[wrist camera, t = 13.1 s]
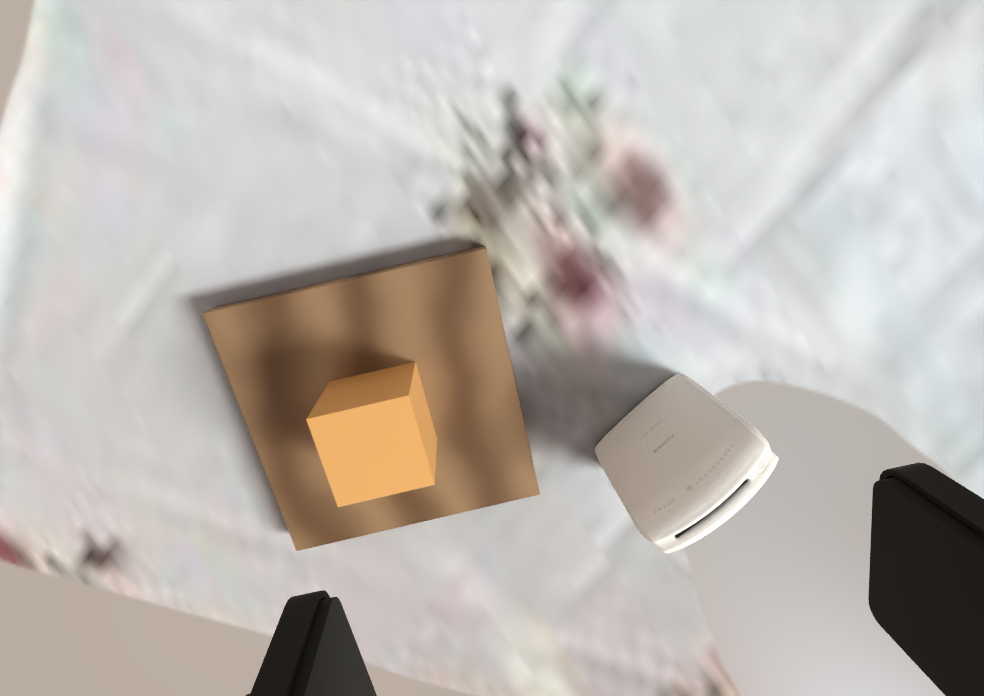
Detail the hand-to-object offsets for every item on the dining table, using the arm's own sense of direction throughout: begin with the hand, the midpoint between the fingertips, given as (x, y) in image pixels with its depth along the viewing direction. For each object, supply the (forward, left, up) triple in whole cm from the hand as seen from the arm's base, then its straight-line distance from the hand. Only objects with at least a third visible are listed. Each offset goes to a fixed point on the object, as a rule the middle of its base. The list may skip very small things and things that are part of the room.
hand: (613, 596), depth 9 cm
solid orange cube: (+10, +7, -29) cm, 32 cm away
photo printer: (-10, +14, -32) cm, 36 cm away
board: (+10, +7, -31) cm, 34 cm away
